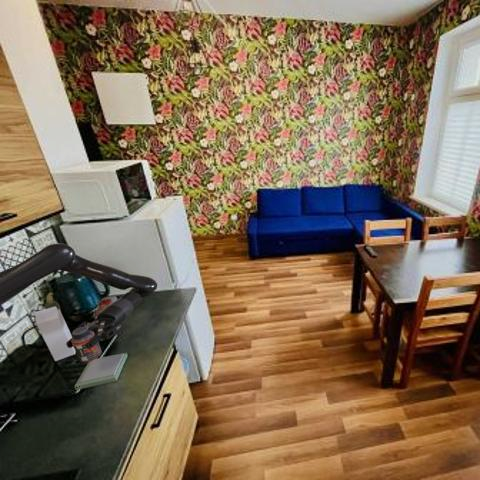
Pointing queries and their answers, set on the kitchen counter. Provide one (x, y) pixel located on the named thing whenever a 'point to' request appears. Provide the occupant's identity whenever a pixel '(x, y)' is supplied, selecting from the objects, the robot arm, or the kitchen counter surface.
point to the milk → (54, 332)
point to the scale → (101, 371)
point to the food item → (104, 304)
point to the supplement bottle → (79, 344)
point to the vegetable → (51, 303)
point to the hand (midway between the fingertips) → (78, 346)
